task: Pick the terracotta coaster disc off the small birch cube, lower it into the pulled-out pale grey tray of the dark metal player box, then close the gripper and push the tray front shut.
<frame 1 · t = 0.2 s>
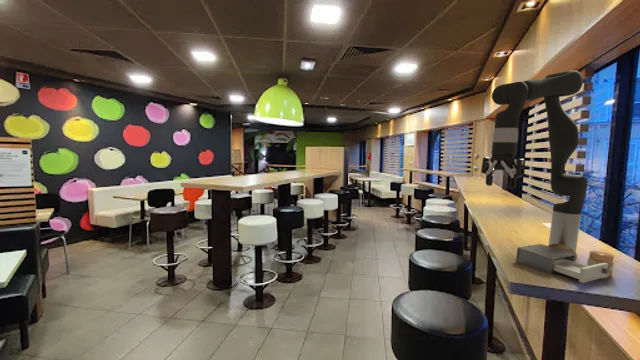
hand: (500, 187, 104), 29 cm above the table, fingers open, 8 cm apart
tray: (575, 266, 99), point 3 cm above the table, slide at 7.5 cm
player housing: (544, 265, 108), on the table
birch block: (598, 274, 102), on the table
coaster: (600, 260, 101), point 5 cm above the table, touching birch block
bread roll: (557, 259, 116), on the table
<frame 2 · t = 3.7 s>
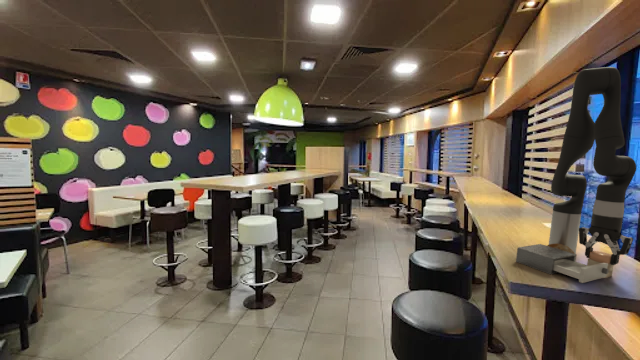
hand: (600, 260, 101), 5 cm above the table, fingers closed on coaster, 6 cm apart
coaster: (600, 260, 101), point 5 cm above the table, touching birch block, gripper
everything else where it was.
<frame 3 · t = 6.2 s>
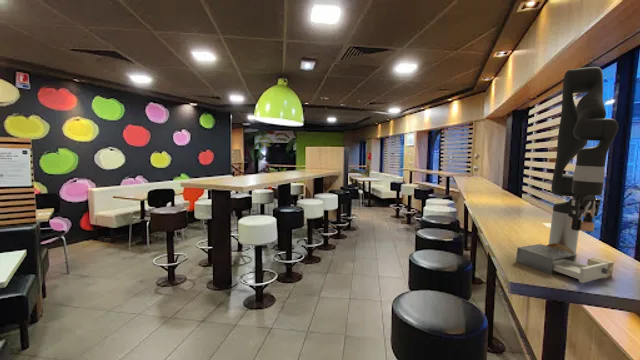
hand: (581, 229, 98), 16 cm above the table, fingers closed on coaster, 6 cm apart
coaster: (581, 228, 98), point 17 cm above the table, touching gripper
everything else where it was.
when the fingers open (3 cm above the table, at t = 8.6 s): coaster drops 1 cm, resting on tray.
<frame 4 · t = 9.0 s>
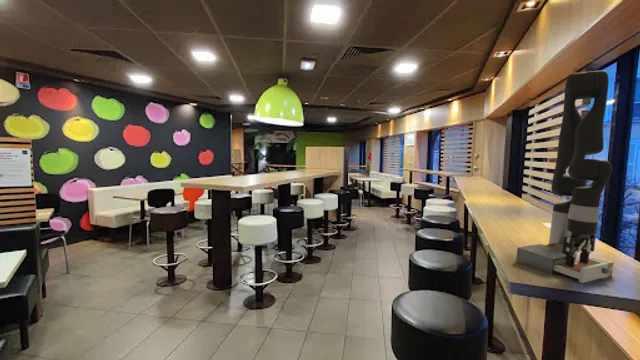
hand: (576, 265, 99), 4 cm above the table, fingers open, 8 cm apart
tray: (575, 266, 99), point 3 cm above the table, slide at 7.5 cm, touching coaster
coaster: (575, 270, 99), point 2 cm above the table, touching tray
everything else where it was.
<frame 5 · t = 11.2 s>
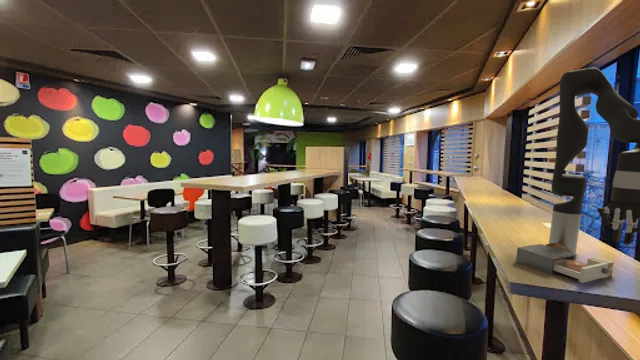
hand: (621, 242, 88), 15 cm above the table, fingers closed
nothing on the table moved.
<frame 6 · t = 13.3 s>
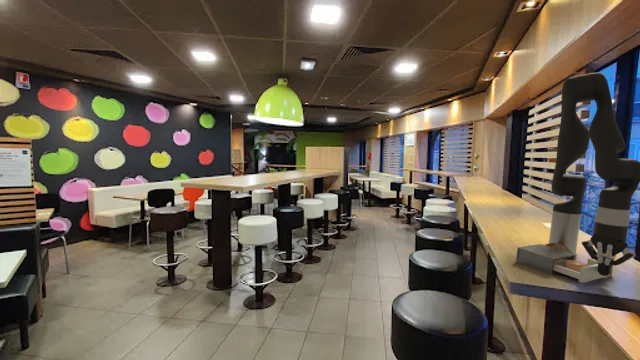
hand: (603, 275, 93), 3 cm above the table, fingers closed
tray: (575, 266, 99), point 3 cm above the table, slide at 7.4 cm, touching coaster, gripper
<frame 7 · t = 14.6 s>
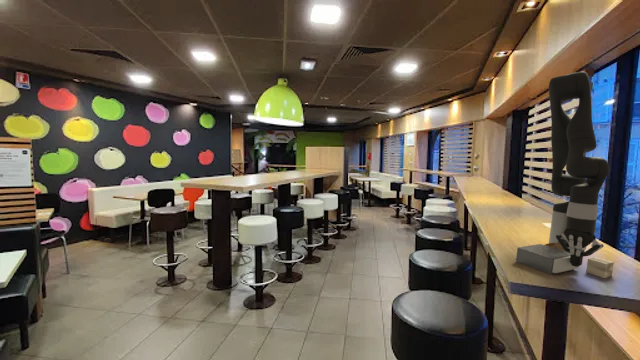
hand: (575, 265, 99), 3 cm above the table, fingers closed
tray: (550, 258, 106), point 3 cm above the table, slide at -0.1 cm, touching coaster, gripper
coaster: (551, 261, 106), point 2 cm above the table, touching tray
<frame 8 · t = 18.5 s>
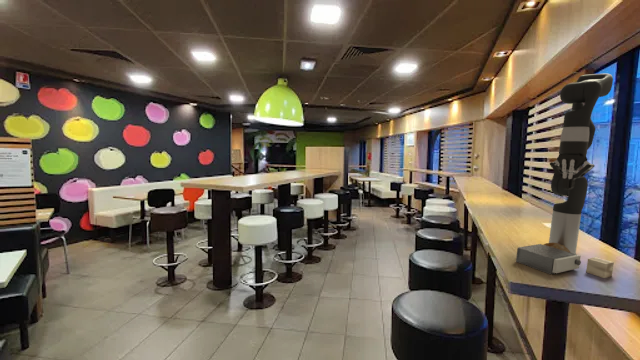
hand: (567, 189, 104), 29 cm above the table, fingers closed
tray: (550, 258, 106), point 3 cm above the table, slide at 0.0 cm, touching coaster
at the end: tray slide at 0.0 cm; coaster inside the target area on the player housing (1.3 cm from its centre), point 2.1 cm above the player housing's base; the gripper is holding nothing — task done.
